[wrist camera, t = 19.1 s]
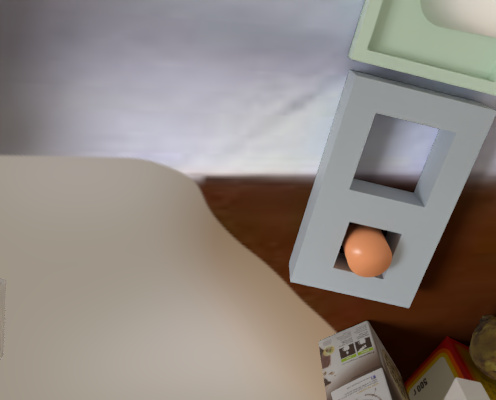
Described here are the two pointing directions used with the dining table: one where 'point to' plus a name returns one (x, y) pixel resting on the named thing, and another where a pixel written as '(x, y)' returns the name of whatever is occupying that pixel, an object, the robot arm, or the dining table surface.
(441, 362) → the baking soda box
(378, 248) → the orange egg
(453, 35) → the tray
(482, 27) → the cartridge
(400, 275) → the housing
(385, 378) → the coffee box
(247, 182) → the dining table surface
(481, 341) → the potato
